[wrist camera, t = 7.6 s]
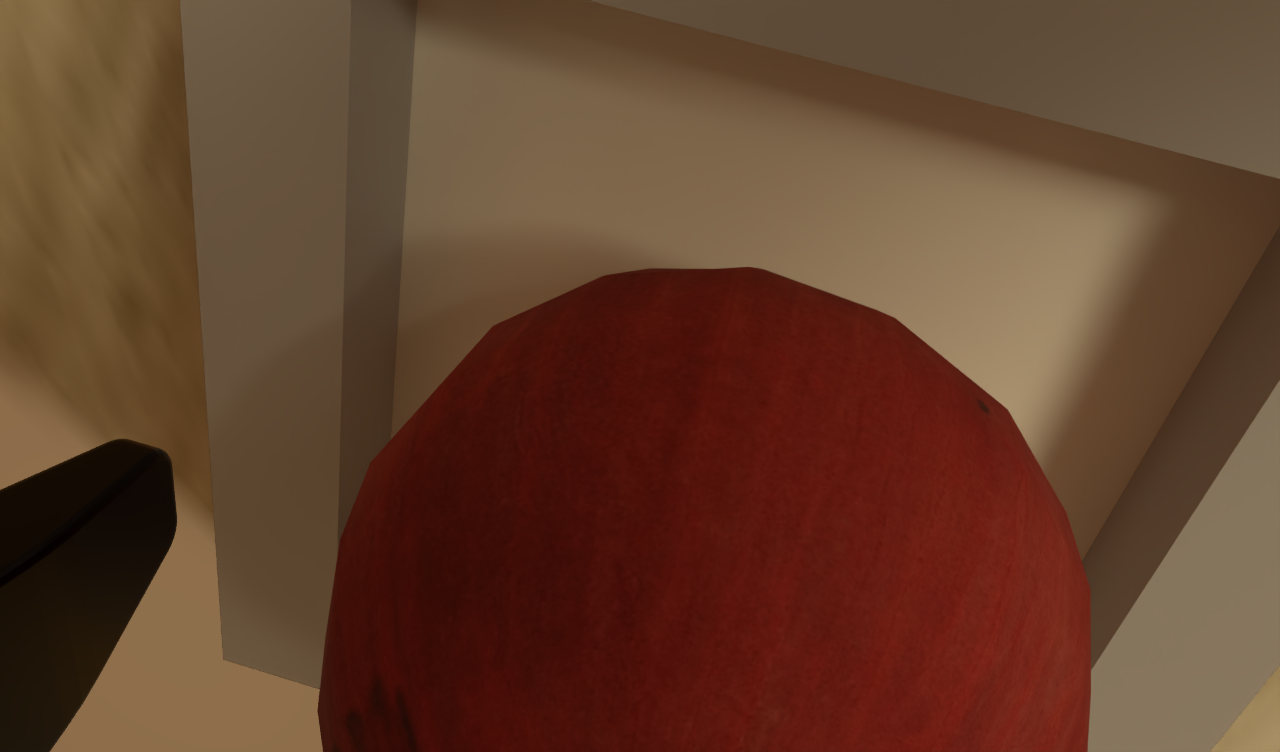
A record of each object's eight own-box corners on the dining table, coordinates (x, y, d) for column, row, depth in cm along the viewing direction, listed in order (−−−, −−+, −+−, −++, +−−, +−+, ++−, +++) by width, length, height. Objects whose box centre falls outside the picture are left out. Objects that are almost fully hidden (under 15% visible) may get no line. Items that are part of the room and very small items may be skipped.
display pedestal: (1545, -166, 11) (1907, 8, 7) (1065, 626, 19) (1098, 954, 14) (396, -433, 12) (85, -424, 8) (361, 421, 20) (188, 673, 15)
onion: (669, 622, 15) (479, 1447, 8) (382, 269, 12) (-184, 1032, 6) (1133, 475, 12) (1372, 1513, 6) (878, -6, 10) (803, 829, 3)
